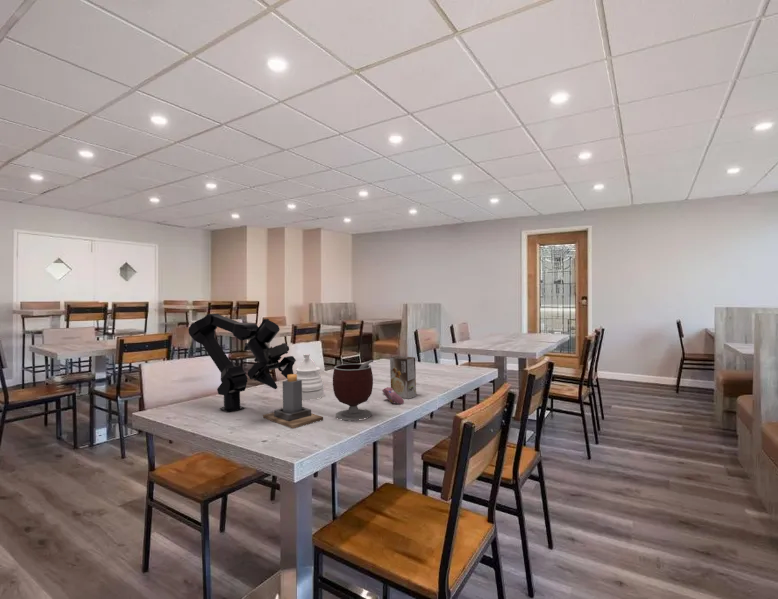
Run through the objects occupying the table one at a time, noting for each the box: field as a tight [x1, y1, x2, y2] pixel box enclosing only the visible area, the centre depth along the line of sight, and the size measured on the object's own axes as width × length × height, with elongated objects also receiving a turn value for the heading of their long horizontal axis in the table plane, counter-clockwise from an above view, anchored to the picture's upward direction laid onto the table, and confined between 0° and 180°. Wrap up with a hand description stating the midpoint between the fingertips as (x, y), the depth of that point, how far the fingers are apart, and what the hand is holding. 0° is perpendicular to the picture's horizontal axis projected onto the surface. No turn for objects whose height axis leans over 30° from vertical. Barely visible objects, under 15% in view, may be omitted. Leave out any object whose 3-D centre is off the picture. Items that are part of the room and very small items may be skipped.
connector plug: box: [282, 373, 303, 414], centre depth 139 cm, size 4×4×14 cm
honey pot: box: [295, 353, 325, 401], centre depth 170 cm, size 13×13×18 cm
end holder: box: [262, 406, 324, 429], centre depth 139 cm, size 18×12×3 cm, turn 47°
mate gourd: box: [332, 359, 374, 421], centre depth 141 cm, size 16×14×20 cm
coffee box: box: [389, 355, 417, 400], centre depth 168 cm, size 9×6×16 cm
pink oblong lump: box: [382, 386, 405, 405], centre depth 159 cm, size 10×5×7 cm, turn 21°
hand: (285, 385), depth 140 cm, fingers open, 9 cm apart
